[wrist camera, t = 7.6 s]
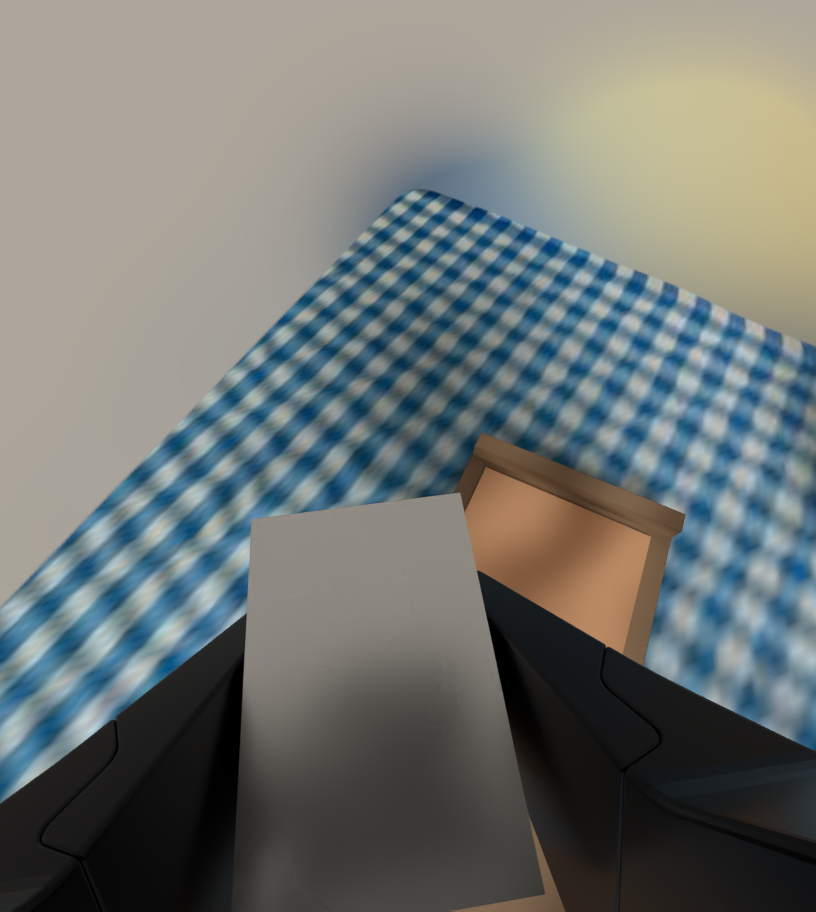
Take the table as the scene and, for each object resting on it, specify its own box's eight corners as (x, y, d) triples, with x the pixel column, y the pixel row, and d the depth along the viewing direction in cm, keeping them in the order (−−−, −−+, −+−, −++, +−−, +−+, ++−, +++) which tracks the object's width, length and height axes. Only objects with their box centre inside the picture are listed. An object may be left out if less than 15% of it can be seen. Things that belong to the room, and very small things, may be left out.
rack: (663, 529, 24) (685, 514, 22) (341, 1923, 9) (320, 2256, 7) (476, 451, 26) (481, 432, 24) (-11, 1439, 12) (-96, 1587, 10)
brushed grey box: (463, 773, 13) (545, 895, 5) (348, 792, 13) (229, 950, 5) (436, 604, 16) (459, 492, 7) (339, 617, 15) (251, 519, 7)
